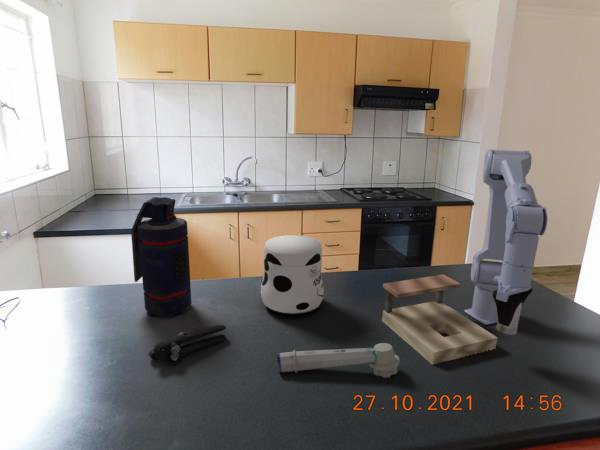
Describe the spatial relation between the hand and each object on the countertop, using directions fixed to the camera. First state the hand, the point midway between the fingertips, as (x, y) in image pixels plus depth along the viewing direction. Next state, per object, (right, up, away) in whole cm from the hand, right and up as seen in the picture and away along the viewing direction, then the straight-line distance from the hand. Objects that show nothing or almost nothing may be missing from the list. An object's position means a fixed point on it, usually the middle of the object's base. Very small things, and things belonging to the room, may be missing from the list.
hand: (507, 320), depth 89 cm
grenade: (-82, -2, +21) cm, 84 cm away
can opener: (-69, -8, +2) cm, 70 cm away
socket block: (-12, -6, +11) cm, 18 cm away
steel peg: (0, -2, +1) cm, 2 cm away
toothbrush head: (-37, -10, -3) cm, 39 cm away
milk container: (-48, -2, +25) cm, 54 cm away
